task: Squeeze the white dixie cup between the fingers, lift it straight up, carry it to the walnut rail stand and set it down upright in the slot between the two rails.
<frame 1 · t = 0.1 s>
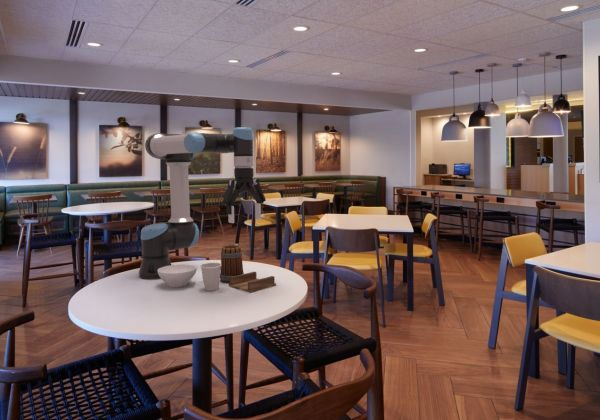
hand: (245, 221, 175), 28 cm above the table, fingers open, 13 cm apart
rail stand: (252, 285, 183), on the table
mug: (234, 279, 195), on the table
bowl: (177, 285, 186), on the table
dixie cup: (211, 289, 179), on the table
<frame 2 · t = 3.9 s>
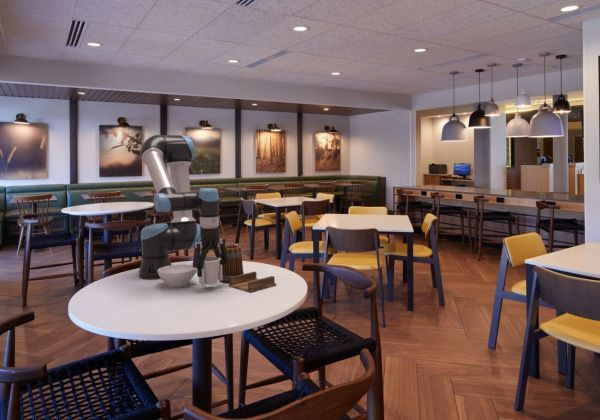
hand: (210, 281, 180), 3 cm above the table, fingers closed on dixie cup, 8 cm apart
dixie cup: (210, 282, 180), point 2 cm above the table, touching gripper
everything else where it was.
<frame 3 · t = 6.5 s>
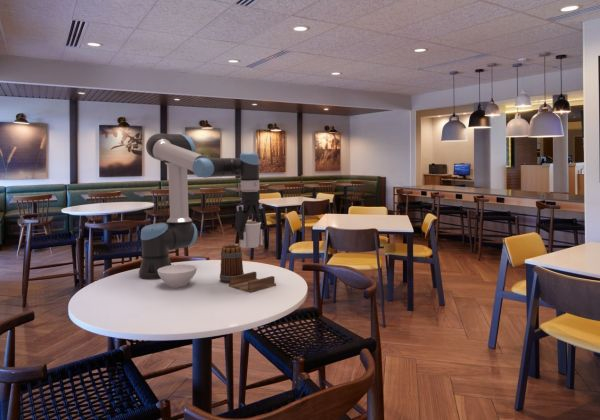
hand: (251, 246, 181), 17 cm above the table, fingers closed on dixie cup, 8 cm apart
dixie cup: (251, 247, 181), point 16 cm above the table, touching gripper
everything else where it was.
when the fingers open (2 cm above the table, at t = 9.4 s): dixie cup stays where it is, resting on rail stand.
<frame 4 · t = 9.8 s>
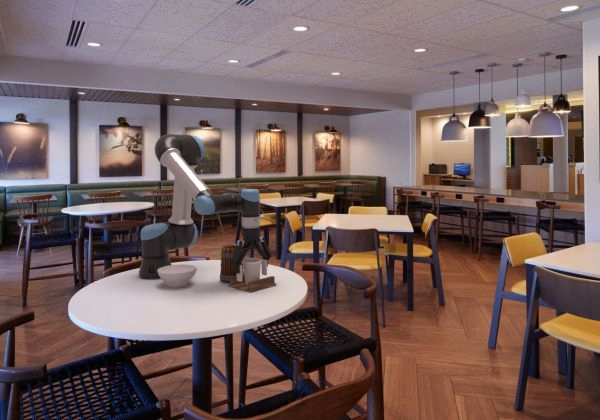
hand: (252, 277, 183), 3 cm above the table, fingers open, 13 cm apart
dixie cup: (252, 284, 183), point 1 cm above the table, touching rail stand
everything else where it was.
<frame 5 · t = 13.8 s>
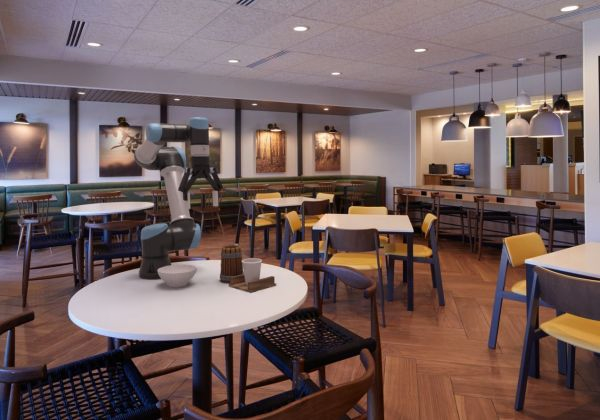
hand: (202, 207, 183), 33 cm above the table, fingers open, 13 cm apart
nothing on the table moved.
at the end: dixie cup inside the target area on the rail stand (0.1 cm from its centre), point 0.6 cm above the rail stand's base; dixie cup tilted 0°; the gripper is holding nothing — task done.
